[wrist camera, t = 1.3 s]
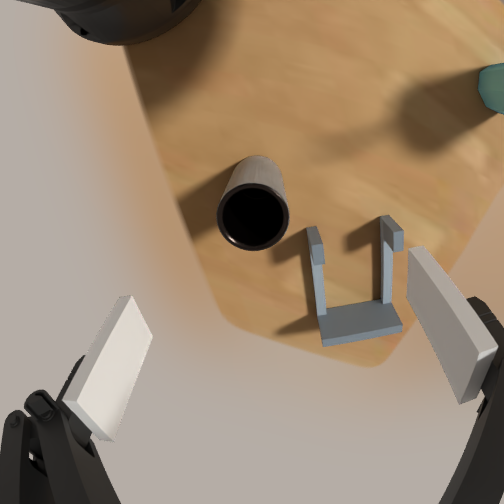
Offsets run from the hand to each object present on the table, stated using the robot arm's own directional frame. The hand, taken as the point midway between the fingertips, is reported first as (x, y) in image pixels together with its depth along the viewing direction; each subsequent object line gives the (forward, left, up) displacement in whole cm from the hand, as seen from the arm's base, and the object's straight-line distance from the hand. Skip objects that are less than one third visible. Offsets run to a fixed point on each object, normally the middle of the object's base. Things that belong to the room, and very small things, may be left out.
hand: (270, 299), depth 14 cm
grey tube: (-2, -1, -17) cm, 17 cm away
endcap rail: (+9, +7, -17) cm, 21 cm away
